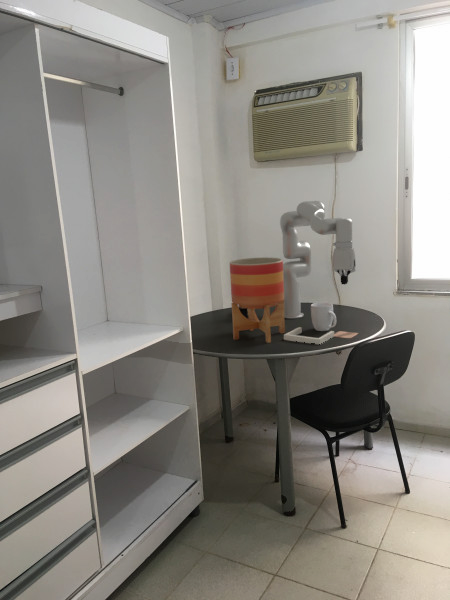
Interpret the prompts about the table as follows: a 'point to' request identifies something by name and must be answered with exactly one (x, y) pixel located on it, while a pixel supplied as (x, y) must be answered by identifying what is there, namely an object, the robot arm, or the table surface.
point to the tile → (345, 334)
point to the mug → (322, 316)
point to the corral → (293, 337)
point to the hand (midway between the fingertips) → (344, 283)
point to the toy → (244, 312)
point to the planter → (257, 294)
